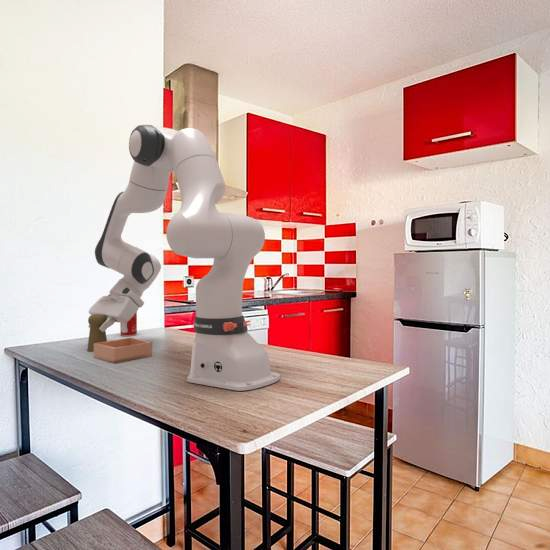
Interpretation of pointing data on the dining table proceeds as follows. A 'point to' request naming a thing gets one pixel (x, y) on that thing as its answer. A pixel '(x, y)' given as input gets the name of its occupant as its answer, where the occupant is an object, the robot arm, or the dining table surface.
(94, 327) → the cork
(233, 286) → the robot arm
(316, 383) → the dining table surface
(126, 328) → the beverage can
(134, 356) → the shallow wooden box
